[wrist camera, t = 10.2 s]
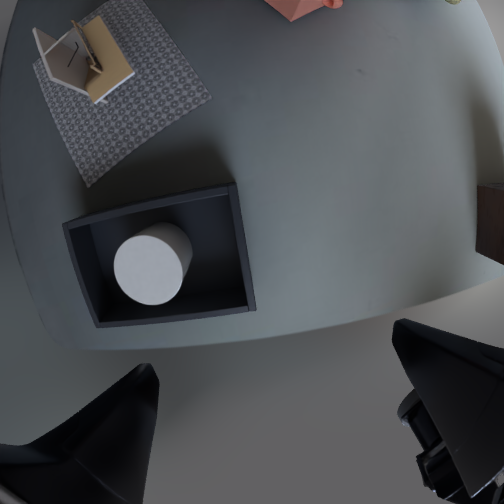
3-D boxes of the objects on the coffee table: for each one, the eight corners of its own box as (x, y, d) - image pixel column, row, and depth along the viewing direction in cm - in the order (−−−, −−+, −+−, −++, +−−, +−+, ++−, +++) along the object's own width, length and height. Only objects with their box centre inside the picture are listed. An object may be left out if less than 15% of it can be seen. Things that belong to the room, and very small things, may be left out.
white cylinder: (171, 291, 20) (158, 317, 16) (125, 256, 19) (102, 276, 15) (205, 247, 19) (197, 266, 15) (155, 209, 18) (136, 219, 14)
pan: (236, 181, 18) (236, 183, 15) (253, 288, 21) (256, 310, 17) (85, 214, 18) (61, 223, 15) (112, 307, 20) (96, 328, 17)
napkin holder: (116, 32, 14) (75, -10, 7) (150, 87, 16) (108, 50, 9) (82, 58, 14) (32, 28, 7) (112, 115, 16) (56, 95, 9)
